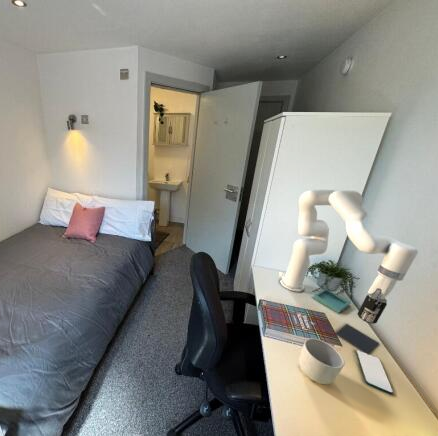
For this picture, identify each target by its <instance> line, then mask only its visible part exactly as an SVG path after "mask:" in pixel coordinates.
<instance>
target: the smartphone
mask: <svg viewBox="0 0 438 436" xmlns="http://www.w3.org/2000/svg"><path fill="white" fill-rule="evenodd" d="M355 354H356V358H357V360H358V364H359V367H360V370H361V374H362V376H363V380H364V382H365V383H366V384H367V385H368V386H371V387H374V388H376V389H378V390H380V391H383V392H385V393H388V394H390V395H391V394H393V393H394V390H393V388H392V385H391V383H390V380H389V378H388V375H387V373H386V371H385V368H384V366H383V363H382V361H381V359H380V358H379V357H377V356H374V355H371V354H370V353H369V354H367V353H364V352H363V351H361V350H360V349H357V350H355Z"/></svg>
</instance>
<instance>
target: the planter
mask: <svg viewBox="0 0 438 436" xmlns="http://www.w3.org/2000/svg"><path fill="white" fill-rule="evenodd" d="M298 363H299V367H300V369H301V371H302V372H303V373H304V374H305V375H306V377H308V378H309V379H311V380H312V381H314V382H316V383H317V384H320V385H329V384H332V383H333V382H335V380H336V379H337V377H338V376H339V374H340V373H341V371H342V370H343V368H344V367H345V363H346V362H345V359H344V356H343V355H342V354H341V353H340V351H339V350H338V349H337V348H335V347H334V346H333V345H332V344H329V343H328V342H326V341H325V340H322V339H319V338H313V337H312V338H307V339H305V341H304V343H303V346H302V348H301V351H300V354H299V358H298Z"/></svg>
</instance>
